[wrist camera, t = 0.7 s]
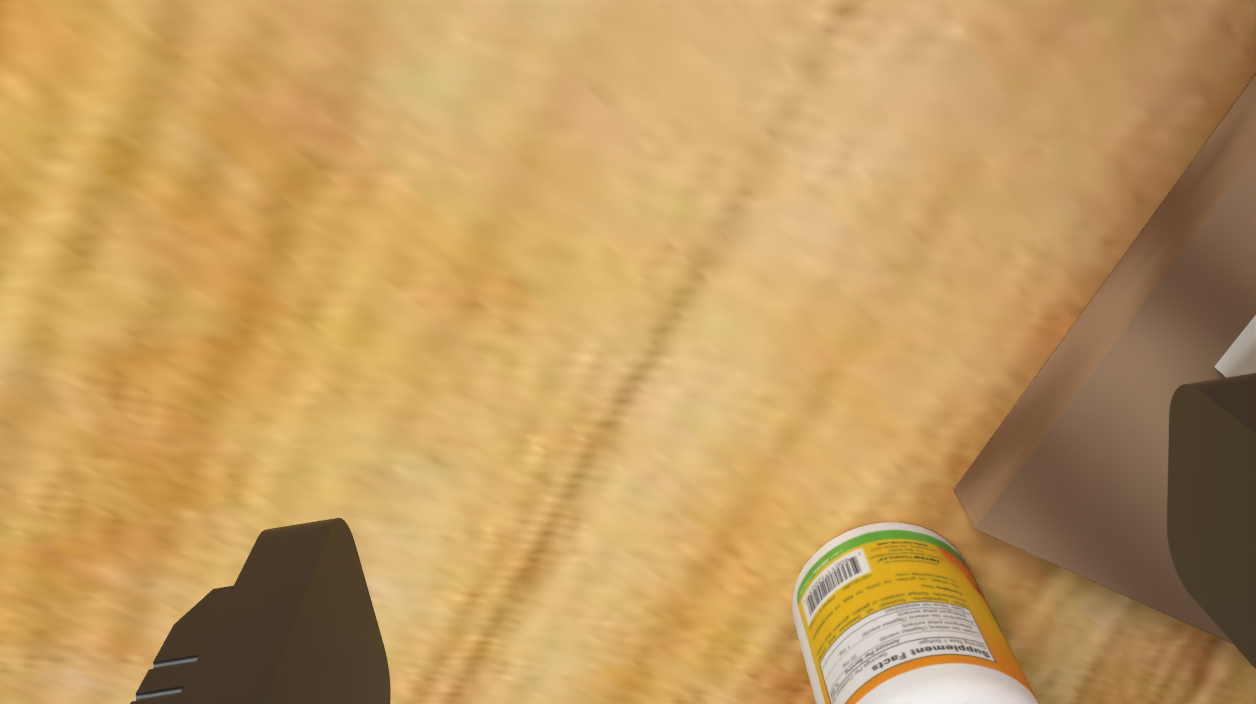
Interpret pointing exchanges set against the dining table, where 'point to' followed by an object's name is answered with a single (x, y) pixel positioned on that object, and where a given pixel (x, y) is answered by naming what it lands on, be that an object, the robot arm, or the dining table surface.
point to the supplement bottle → (900, 624)
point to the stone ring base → (1132, 387)
